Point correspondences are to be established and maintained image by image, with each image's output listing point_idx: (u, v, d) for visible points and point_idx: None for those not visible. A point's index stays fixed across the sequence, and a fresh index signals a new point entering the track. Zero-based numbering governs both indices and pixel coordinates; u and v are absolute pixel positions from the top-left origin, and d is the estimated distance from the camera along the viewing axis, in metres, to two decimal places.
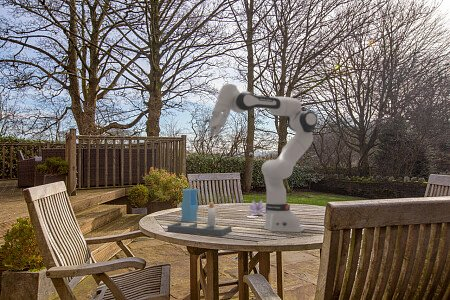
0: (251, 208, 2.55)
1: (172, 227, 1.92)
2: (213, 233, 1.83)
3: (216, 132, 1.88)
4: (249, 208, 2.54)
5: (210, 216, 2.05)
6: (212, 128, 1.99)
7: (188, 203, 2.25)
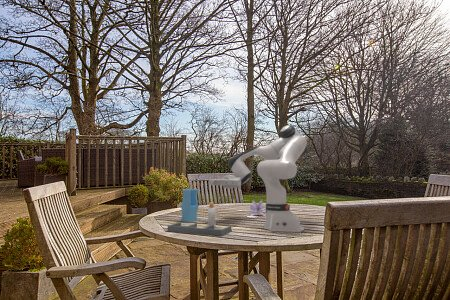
0: (251, 208, 2.55)
1: (172, 227, 1.92)
2: (213, 233, 1.83)
3: None
4: (249, 208, 2.54)
5: (210, 216, 2.05)
6: None
7: (188, 203, 2.25)
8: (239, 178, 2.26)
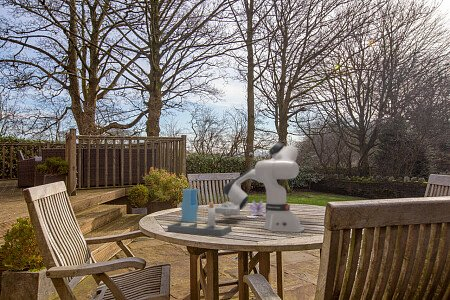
0: (251, 208, 2.55)
1: (172, 227, 1.92)
2: (213, 233, 1.83)
3: None
4: (249, 208, 2.54)
5: (210, 216, 2.05)
6: None
7: (188, 203, 2.25)
8: (238, 206, 2.23)
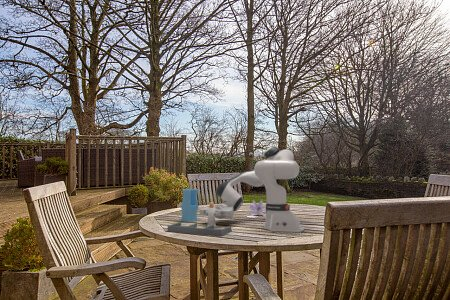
0: (251, 208, 2.55)
1: (172, 227, 1.92)
2: (213, 233, 1.83)
3: None
4: (249, 208, 2.54)
5: (210, 216, 2.05)
6: None
7: (188, 203, 2.25)
8: (231, 208, 2.13)
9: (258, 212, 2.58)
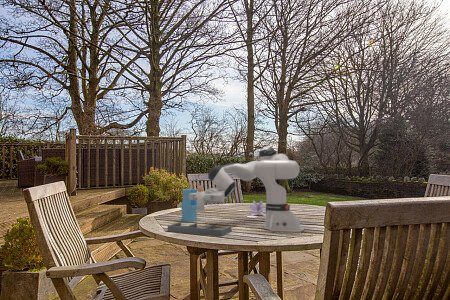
0: (251, 208, 2.55)
1: (172, 227, 1.92)
2: (213, 233, 1.83)
3: None
4: (249, 208, 2.54)
5: (199, 200, 1.94)
6: None
7: (188, 203, 2.25)
8: (222, 192, 2.02)
9: (258, 212, 2.58)
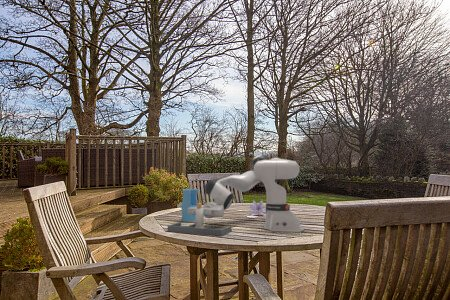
0: (252, 208, 2.55)
1: (172, 227, 1.92)
2: (213, 233, 1.83)
3: None
4: (249, 208, 2.54)
5: (198, 217, 1.92)
6: None
7: (188, 203, 2.25)
8: (221, 207, 2.00)
9: (258, 212, 2.58)
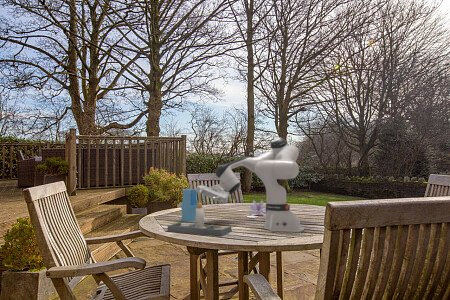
0: (252, 208, 2.55)
1: (172, 227, 1.92)
2: (213, 233, 1.83)
3: None
4: (250, 208, 2.54)
5: (198, 217, 1.92)
6: None
7: (188, 203, 2.25)
8: (227, 194, 2.16)
9: (258, 212, 2.58)
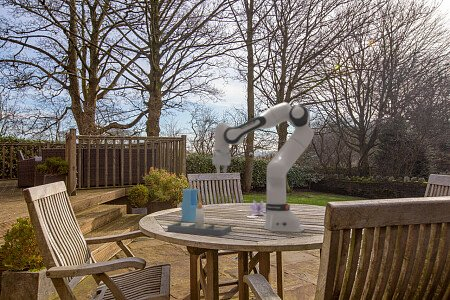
0: (252, 208, 2.55)
1: (172, 227, 1.92)
2: (213, 233, 1.83)
3: (217, 171, 2.12)
4: (250, 208, 2.54)
5: (199, 217, 1.92)
6: (224, 165, 2.22)
7: (188, 203, 2.25)
8: (230, 155, 2.24)
9: (258, 213, 2.58)
